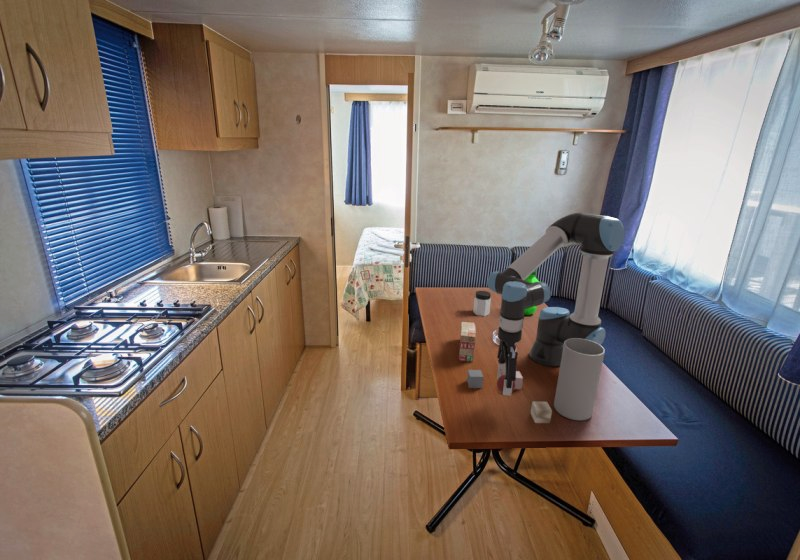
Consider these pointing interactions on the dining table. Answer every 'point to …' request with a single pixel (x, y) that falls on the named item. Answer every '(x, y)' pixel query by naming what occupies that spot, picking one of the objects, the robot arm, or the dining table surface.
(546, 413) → the birch block
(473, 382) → the slate grey block
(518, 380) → the dusty rose block
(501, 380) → the fruit
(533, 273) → the plastic bottle
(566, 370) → the cylinder vase
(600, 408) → the dining table surface
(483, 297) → the jar
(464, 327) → the stack of blocks
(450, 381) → the dining table surface
